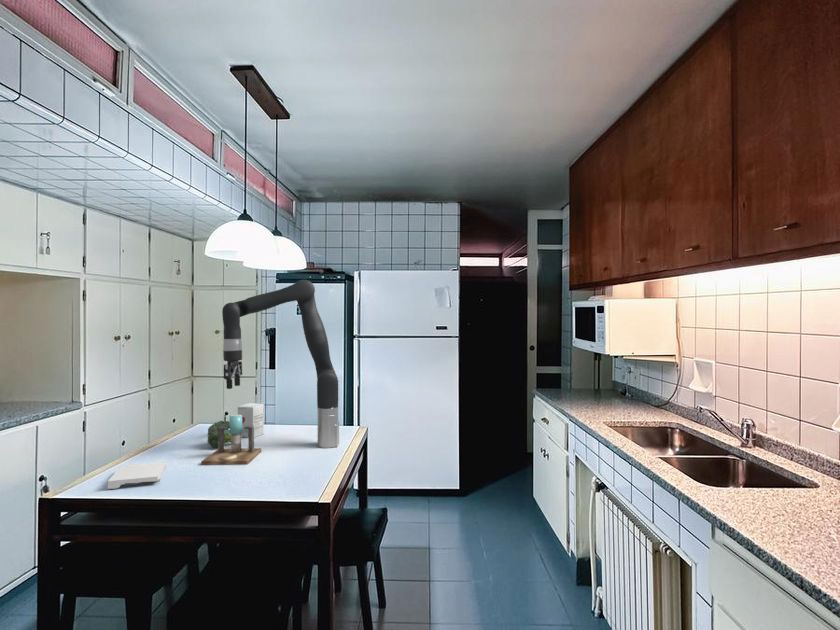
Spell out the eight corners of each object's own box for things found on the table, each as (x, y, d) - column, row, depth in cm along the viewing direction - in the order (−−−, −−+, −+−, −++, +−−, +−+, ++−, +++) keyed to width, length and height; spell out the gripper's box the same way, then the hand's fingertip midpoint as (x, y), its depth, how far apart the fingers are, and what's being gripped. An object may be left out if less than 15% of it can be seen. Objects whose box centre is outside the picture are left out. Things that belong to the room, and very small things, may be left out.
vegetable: (243, 443, 216) (210, 432, 209) (230, 460, 221) (198, 449, 215) (248, 422, 226) (216, 411, 219) (235, 439, 231) (204, 428, 224)
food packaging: (121, 474, 184) (107, 491, 165) (121, 465, 184) (107, 481, 165) (166, 470, 189) (157, 486, 170) (166, 461, 189) (157, 476, 170)
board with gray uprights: (261, 451, 210) (261, 423, 210) (247, 464, 192) (247, 434, 192) (219, 452, 210) (219, 424, 210) (201, 465, 192) (200, 434, 192)
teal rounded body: (249, 431, 208) (248, 413, 208) (245, 434, 203) (244, 416, 203) (227, 431, 208) (227, 414, 208) (222, 434, 203) (222, 416, 203)
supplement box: (237, 437, 236) (236, 406, 236) (248, 432, 245) (248, 402, 245) (253, 438, 234) (252, 406, 234) (264, 433, 242) (264, 403, 242)
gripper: (234, 350, 203) (235, 389, 203) (247, 348, 217) (248, 384, 217) (216, 350, 203) (217, 390, 203) (230, 348, 217) (231, 385, 217)
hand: (233, 387), depth 210 cm, fingers open, 8 cm apart
